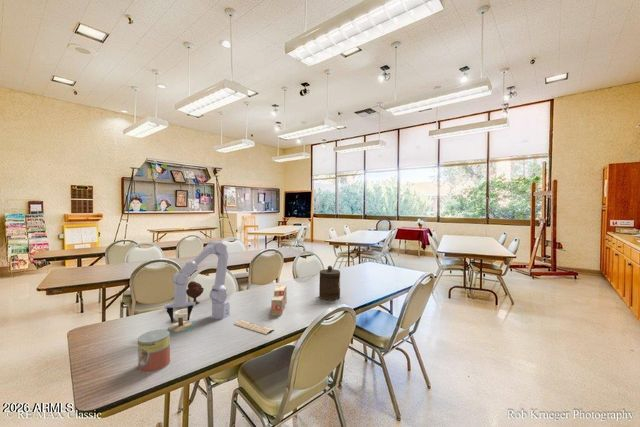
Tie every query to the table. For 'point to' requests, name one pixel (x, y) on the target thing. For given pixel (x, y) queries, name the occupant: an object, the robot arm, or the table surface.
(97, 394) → the table surface
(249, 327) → the tan wooden plank
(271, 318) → the table surface
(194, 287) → the ice cream bowl
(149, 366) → the canned food
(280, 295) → the stack of blocks
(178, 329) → the cover
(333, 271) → the wooden container
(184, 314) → the bowl
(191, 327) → the mat
